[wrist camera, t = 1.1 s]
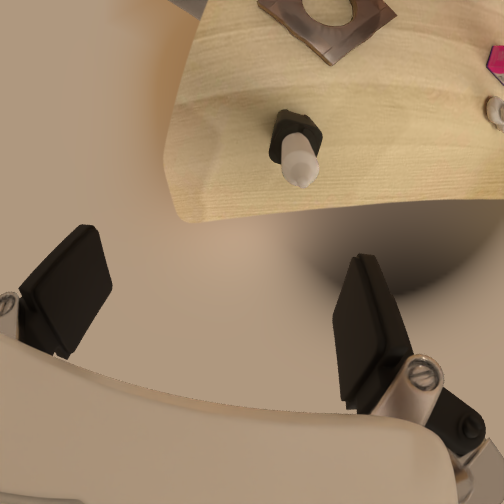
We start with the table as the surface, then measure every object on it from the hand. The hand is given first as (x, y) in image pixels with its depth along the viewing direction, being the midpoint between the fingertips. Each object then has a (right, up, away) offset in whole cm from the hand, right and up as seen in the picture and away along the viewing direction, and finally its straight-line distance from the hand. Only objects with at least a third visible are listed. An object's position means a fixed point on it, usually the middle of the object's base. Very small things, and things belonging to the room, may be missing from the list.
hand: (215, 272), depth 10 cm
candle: (+7, +19, +29) cm, 35 cm away
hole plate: (+12, +35, +17) cm, 41 cm away
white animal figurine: (+43, +25, +20) cm, 54 cm away
